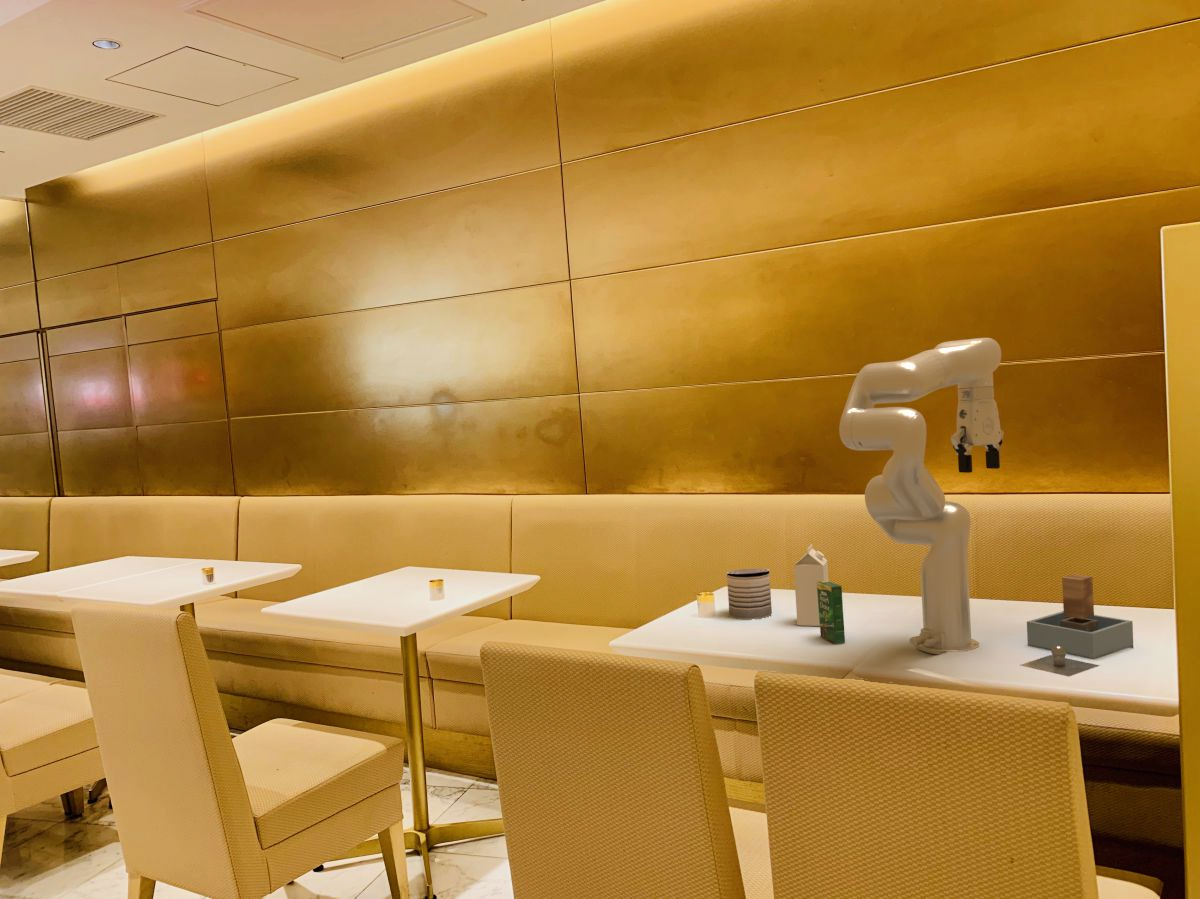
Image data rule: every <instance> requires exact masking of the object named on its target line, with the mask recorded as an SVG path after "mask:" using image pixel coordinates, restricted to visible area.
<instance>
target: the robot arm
mask: <svg viewBox="0 0 1200 899" xmlns="http://www.w3.org/2000/svg"><path fill="white" fill-rule="evenodd" d="M1001 361H1002V349H1001V346H1000V344H999V343H998V342H997V340H995V338H994V339H993V338H990V337H977V338H976V337H975V338H970V339H969V338H968V339H959V340H958V339H957V340H950V341H949V340H948V341H944V342H941V343H939V344H936V346H935V347H934V348H933V349H928V350H923V351H921V352H919V353H917V354H914V355H912V356H910V357H907V358H904V359H901V360H896V361H885V362H873V363H869V364H866V365H864V366H863V367H861V369H860V370H859V372H858V373H857V375H856V377H855V379H854V381H853V383H852V386H851V389H850V391H849V394H848V396H847V400H846V402H845V405H844V409H843V410H842V414H841V417H840V420H839V428H838V430H839V431H838V432H839V438H840V440H841V442H842V444H843V445H844V446H845V447H846V448H848V449H850V450H854V451H893V454H892V456H891V457H890V458H889V459H888V460H887V461H886V463H885V465H884V468H883V470H882V474H879V475H876V476H874V477H872V478H871V479H870V480H869V482H868V483H867V484H866V488H865V490H864V502H865V507H866V509H867V512H868V514H869V515H870V517H871V518H872V520H873V521H874V522H875V523H876V524H877V525H878V526H879V527H880V529H881V530H882V531H883V532H884V533H885V534H886V535H887V537H889V539H890V540H892V541H894V542H896V543H898V544H907V545H918V546H930V549H929V551H928V552H927V553H926V555H925V556H924V557H923V559H922V561H921V564H920V586H921V588H920V590H921V609H922V625H923V628H920V633H919V635H914V636H912V637H910V638H909V643H910V645H911V646H912V647H917V649H918V650H920V651H922V652H924V653H927V654H932V655H939V656H940V655H943V654H946V653H958V652H968V651H973V650H976V649H978V648H979V647H980V642H979V641H977V640H976V639H973V638H972V626H971V625H972V624H971V605H970V588H969V587H970V586H969V585H970V584H969V568H968V567H969V565H968V564H969V562H968V559H969V558H968V554H969V539H970V533H971V525H972V524H971V520H972V519H971V516H970V512H969V511H968V509H967V508H966V507H965V506H964V505H963V504H959V503H957V502H953V501H948V500H946V498H945V493H944V491H943V489H942V488H941V486H940V485H939V483H938V482H937V481H936V478H934V477H933V475H932V473H931V472H930V471H929V470H928V469H927V466H926V465H925V454H926V446H927V423H926V419H925V418H924V416H923V414H922V413H921V412H919V411H918V410H917V409H914V408H911V407H904V406H886V407H875V406H876V405H877V404H895V403H907V402H908V403H911V402H913V401H916V400H920V399H921V398H922V397H925V396H927V395H928V394H930V393H933V392H936V391H937V390H939V389H944V388H947V387H948V388H949V387H952V386H953V387H954V386H957V398H958V399H957V400H958V401H957V402H958V404H957V411H956V432H954V433H953V434H952V435H951V436H950V440H951V443H952V445H953V446H952V447H953V449H954V450H955V455H956V456H957V463H958V464H957V465H958V472H959V473H965V474H969V473H973V456H972V454H970V453H971V451H972V450H973V447H974V446H975V447H976V446H977V447H978V446H984V447H985V449H986V451H985V464H986V465H985V467H986V469H992V470H993V469H995V470H996V469H997V470H998V469H1000V467H1001V466H1000V463H1001V461H1000V451H1001V449H1002V447H1001V446H1002V444H1003V438H1004V435H1005V432H1004V430H1002V429H1001V422H1000V416H999V415H1000V414H999V408H998V405H997V402H996V400H995V392H994V391H995V390H994V373H993V372H995V371H996V370H997V369H998V367H1000V366H999V365H1000V363H1001Z"/></svg>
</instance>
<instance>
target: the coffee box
mask: <svg viewBox="0 0 1200 899" xmlns="http://www.w3.org/2000/svg"><path fill="white" fill-rule="evenodd" d="M842 589H843V588H842V585H841V584H838V583H834V582H831V581H818V582H817V594H818V607H819V620H820V626H819V630H820V631H819V632H820V637H822V638H823V639H825V640H827V641H829V642H831V643H832V644H834V645H840V644H844V643H846V639H845V638H846V636H845V622H844V621H845V620H844V608H843V607H844V606H843V590H842Z"/></svg>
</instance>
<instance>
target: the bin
mask: <svg viewBox="0 0 1200 899" xmlns="http://www.w3.org/2000/svg"><path fill="white" fill-rule="evenodd" d="M1067 618H1071V617H1068V616H1064V610H1062V611H1059V612H1058V611H1057V612H1055V613H1053V614H1048V615H1046V616H1041V617H1038V618H1034V619H1032V620H1028V621H1026V634H1027V646H1029V647H1032V648H1039V649H1043V650H1046V651H1051V650H1052V648H1053V647H1054V646H1055V645H1061V646H1063V647H1064V648H1065V649H1066V655H1071V656H1076V657H1081V658H1086V659H1091V660H1096V659H1098V658H1102V657H1104V656H1107V655H1110V654H1113V653H1116V652H1118V651H1122V650H1124V649H1127V648H1129V649H1134V632H1133V631H1134V628H1133V627H1134V626H1133V620H1128V619H1122V618H1116V617H1111V616H1103V615H1099V614H1098V615H1097V614H1094V616H1091V617H1088V618H1087V619H1093V620H1098V630H1097V631H1093V632H1087V631H1081V630H1076V629H1070V628H1065V627H1061V626H1060V621H1061V620H1064V619H1067Z"/></svg>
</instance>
